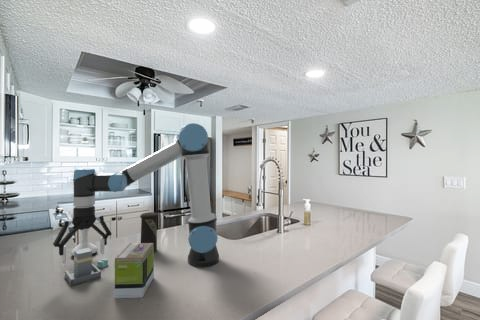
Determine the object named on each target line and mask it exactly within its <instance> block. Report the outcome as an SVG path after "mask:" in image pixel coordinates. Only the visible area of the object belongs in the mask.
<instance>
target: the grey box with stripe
mask: <svg viewBox="0 0 480 320" xmlns="http://www.w3.org/2000/svg"><path fill="white" fill-rule="evenodd" d="M73 260H74V261H73V263H74V264H73V273H74V276H75V277H76V278H78V277H81V276H85V275H88V274H91V272H92V264H93V263H92V261H93V254H92V251H91V250H90V249H89V248H85V249H80V250H76V251H75V253H74V256H73Z"/></svg>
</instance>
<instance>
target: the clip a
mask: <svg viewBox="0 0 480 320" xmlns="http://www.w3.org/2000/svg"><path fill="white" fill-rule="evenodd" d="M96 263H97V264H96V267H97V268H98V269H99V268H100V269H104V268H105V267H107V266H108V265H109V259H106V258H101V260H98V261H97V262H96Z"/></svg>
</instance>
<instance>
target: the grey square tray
mask: <svg viewBox="0 0 480 320" xmlns="http://www.w3.org/2000/svg"><path fill="white" fill-rule="evenodd" d="M64 277H65V279H66V280H67V282H68V283H69V285H70V287H73V286H77V285H80V284H83V283H86V282H91V281H93V280H97V279H100V278H102V271H101V270H100V269H99V267H97V265H95V264H94V263H92V272H91V274H88V275H85V276H81V277H78V278H76V277H75V276H74V272H71V273H69V271H68V270H64Z"/></svg>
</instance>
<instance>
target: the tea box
mask: <svg viewBox="0 0 480 320" xmlns="http://www.w3.org/2000/svg"><path fill="white" fill-rule="evenodd" d="M154 254H155V252H154V243H141V242H140V243H138V242H137V243H136V242H134V243H131V242H130V243H129V244H128V245H126V247H125V248H124V249H123V250H122V251H121V252H120V253H119V254H118V255H117V256H115V258H114V299H139V298H140V299H141V298H143V297H145V294H146V292H147V290H148V289H149V287H150V285H151V283H152V281H153V279H154V276H155V269H154V268H155V265H154V259H155V258H154V257H155V255H154Z"/></svg>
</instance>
